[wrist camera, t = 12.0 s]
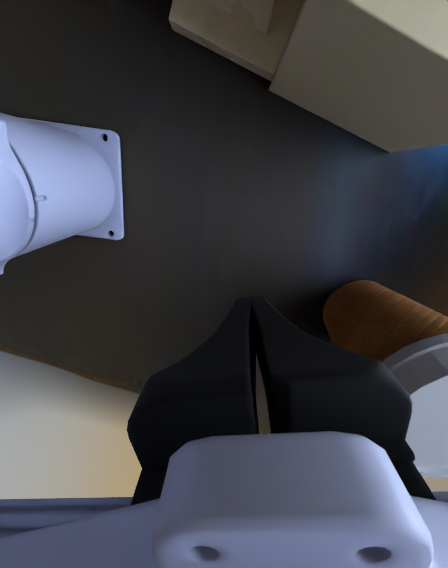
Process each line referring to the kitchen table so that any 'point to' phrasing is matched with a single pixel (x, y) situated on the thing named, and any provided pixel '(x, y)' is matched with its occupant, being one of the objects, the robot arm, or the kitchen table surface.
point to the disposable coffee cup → (400, 358)
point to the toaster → (371, 69)
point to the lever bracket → (239, 29)
